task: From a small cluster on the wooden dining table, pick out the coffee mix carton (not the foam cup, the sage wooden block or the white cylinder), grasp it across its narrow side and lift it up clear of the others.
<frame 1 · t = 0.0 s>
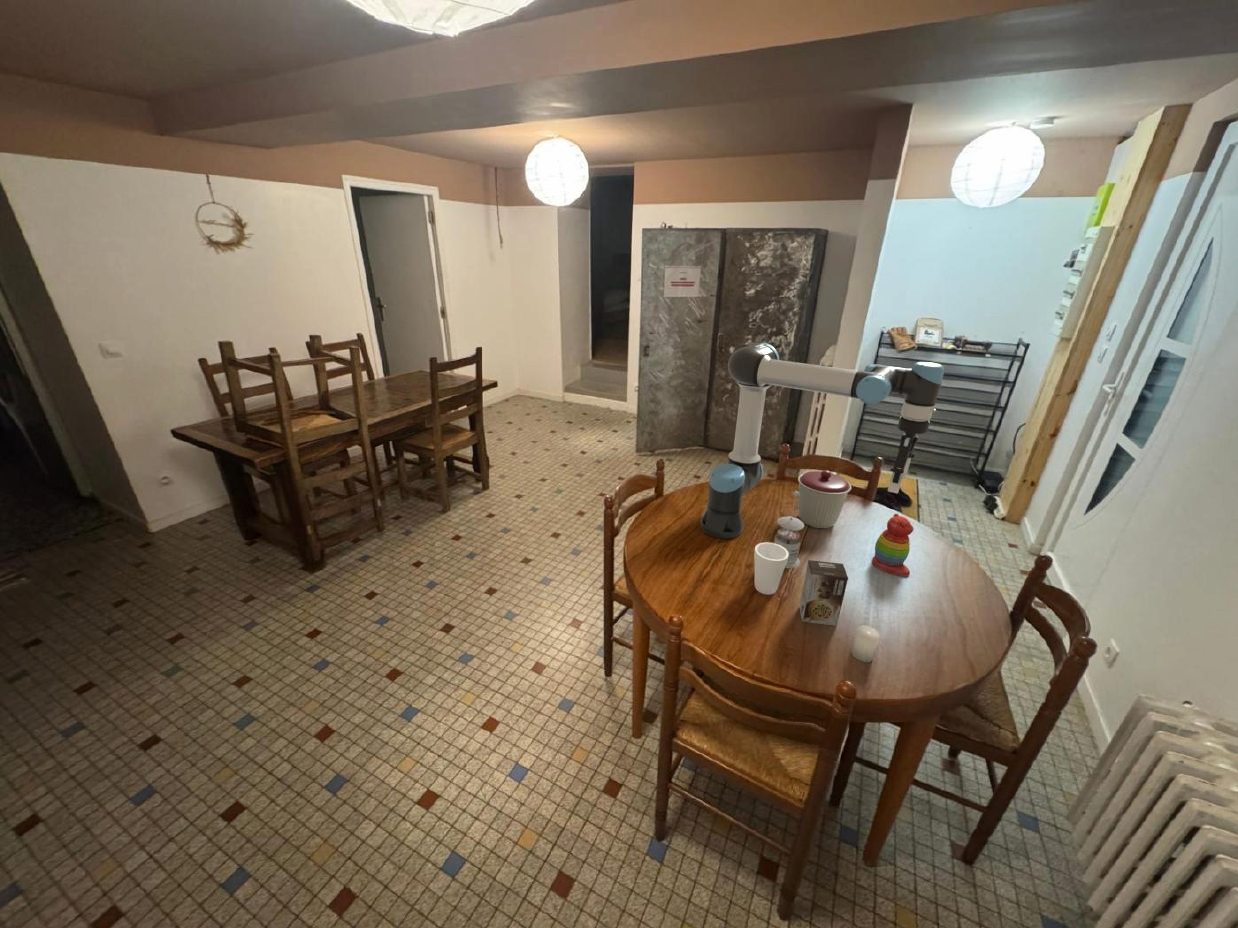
hand: (896, 484, 142), 28 cm above the table, fingers open, 13 cm apart
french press: (784, 558, 155), on the table
stacking bear: (888, 565, 151), on the table
foam cup: (765, 588, 140), on the table
coffee box: (817, 616, 129), on the table
sage block: (830, 592, 138), on the table
canister: (816, 521, 177), on the table
white cylinder: (862, 654, 117), on the table
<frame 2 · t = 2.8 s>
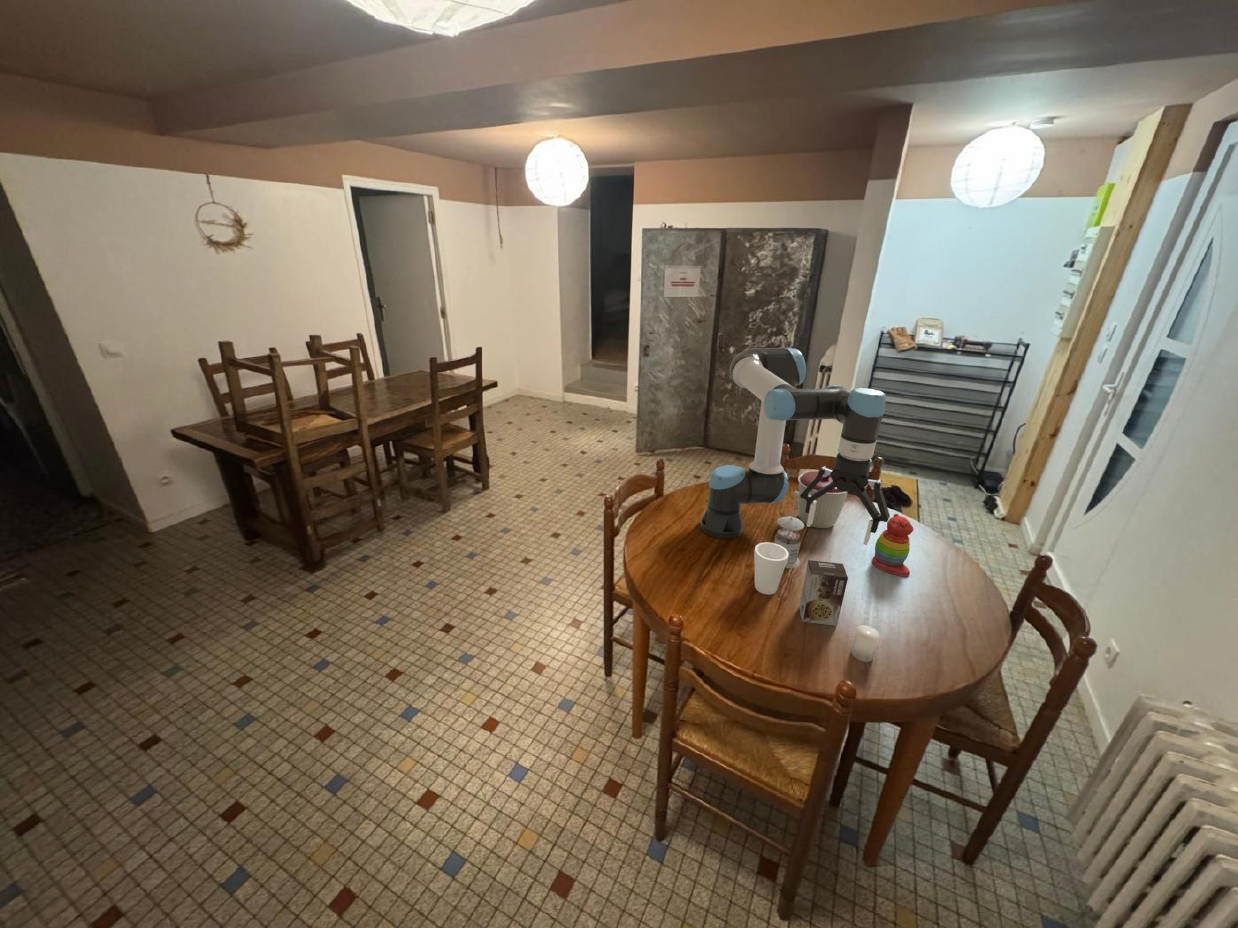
hand: (836, 533, 118), 27 cm above the table, fingers open, 13 cm apart
nothing on the table moved.
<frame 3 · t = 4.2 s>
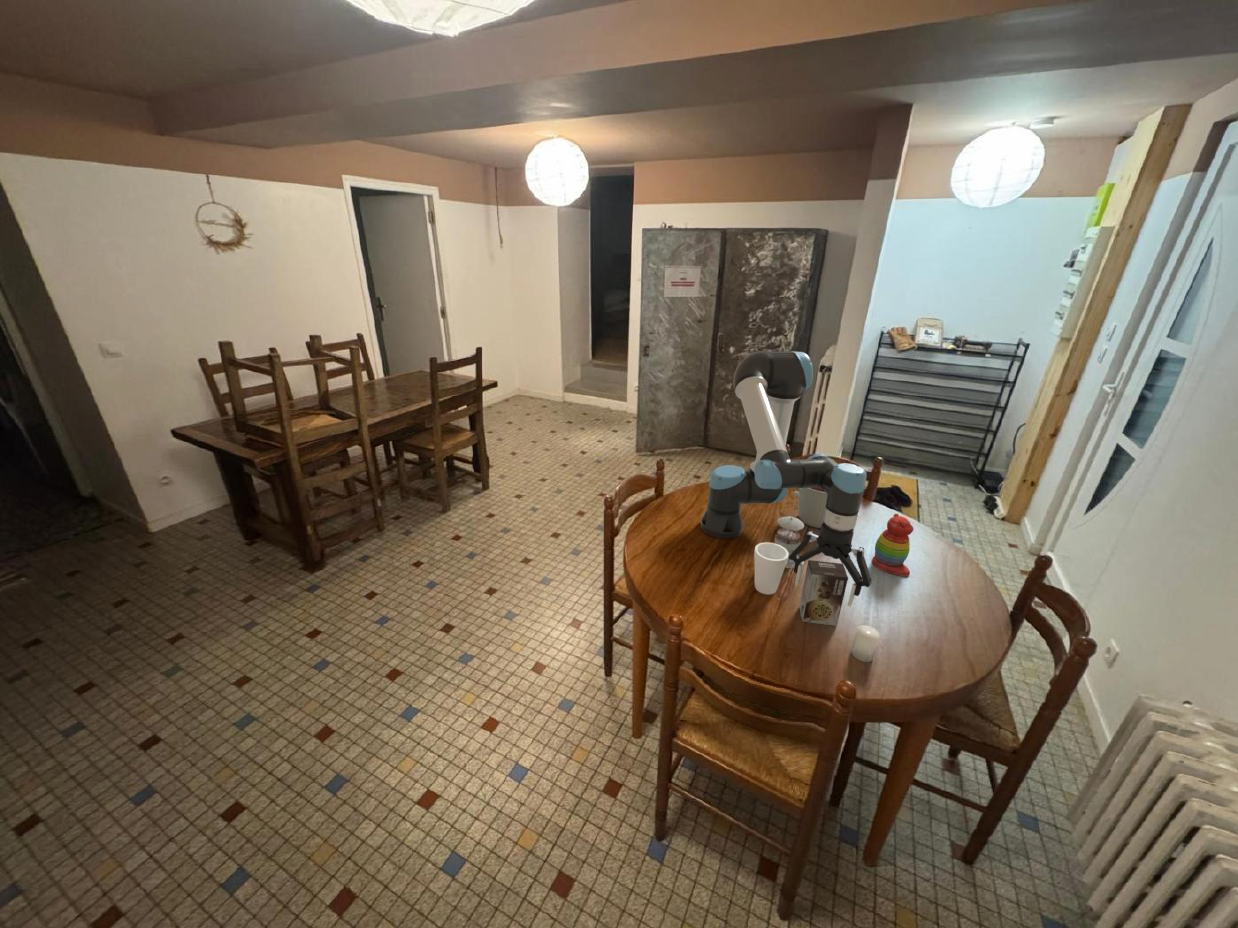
hand: (823, 593, 125), 8 cm above the table, fingers open, 13 cm apart
nothing on the table moved.
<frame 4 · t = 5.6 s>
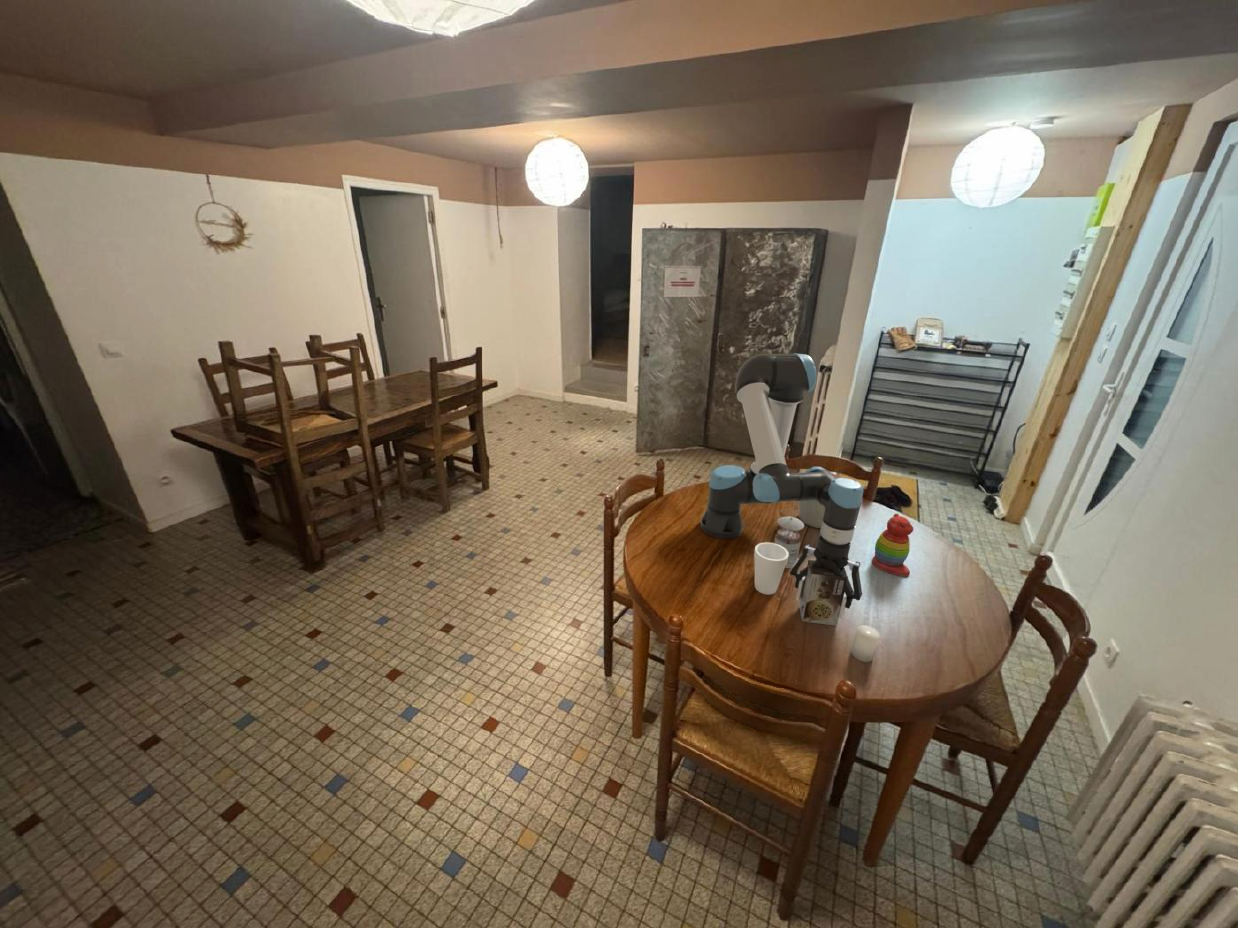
hand: (819, 606, 128), 3 cm above the table, fingers closed on coffee box, 10 cm apart
coffee box: (817, 616, 129), on the table, touching gripper
everything else where it was.
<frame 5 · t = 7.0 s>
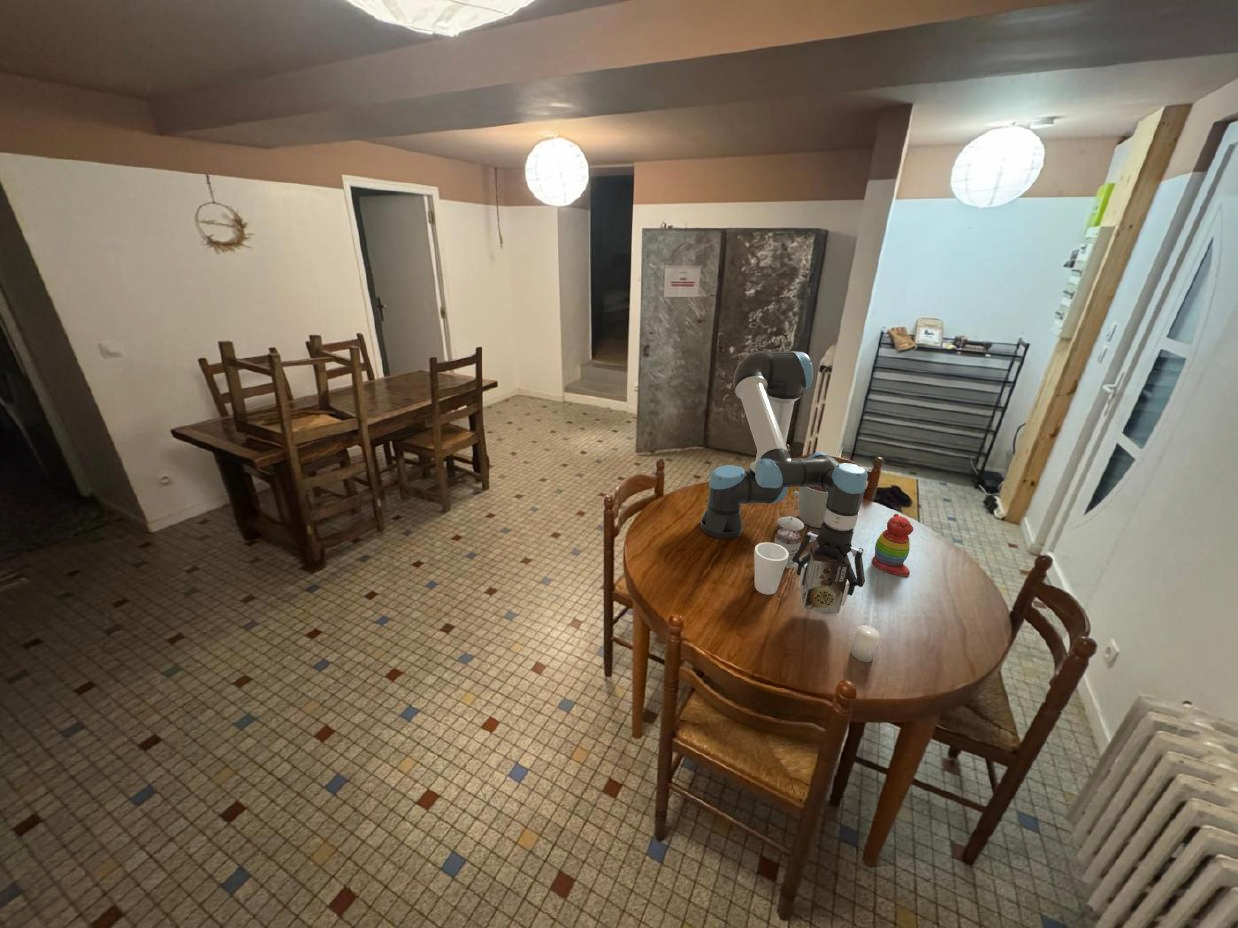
hand: (821, 593, 126), 7 cm above the table, fingers closed on coffee box, 10 cm apart
coffee box: (818, 604, 128), point 4 cm above the table, touching gripper
everything else where it was.
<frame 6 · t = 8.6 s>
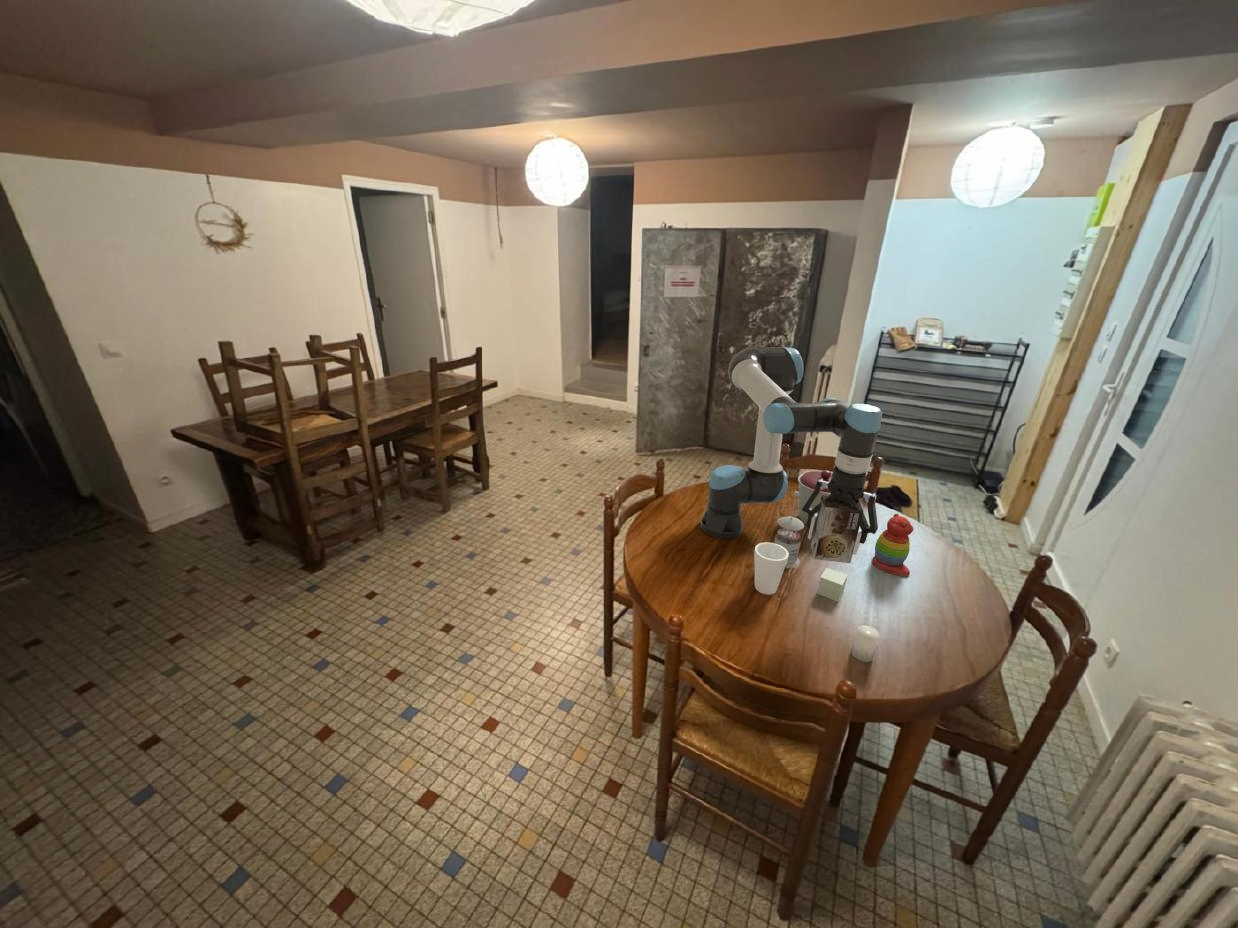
hand: (832, 544, 123), 22 cm above the table, fingers closed on coffee box, 10 cm apart
coffee box: (829, 555, 124), point 18 cm above the table, touching gripper
everything else where it was.
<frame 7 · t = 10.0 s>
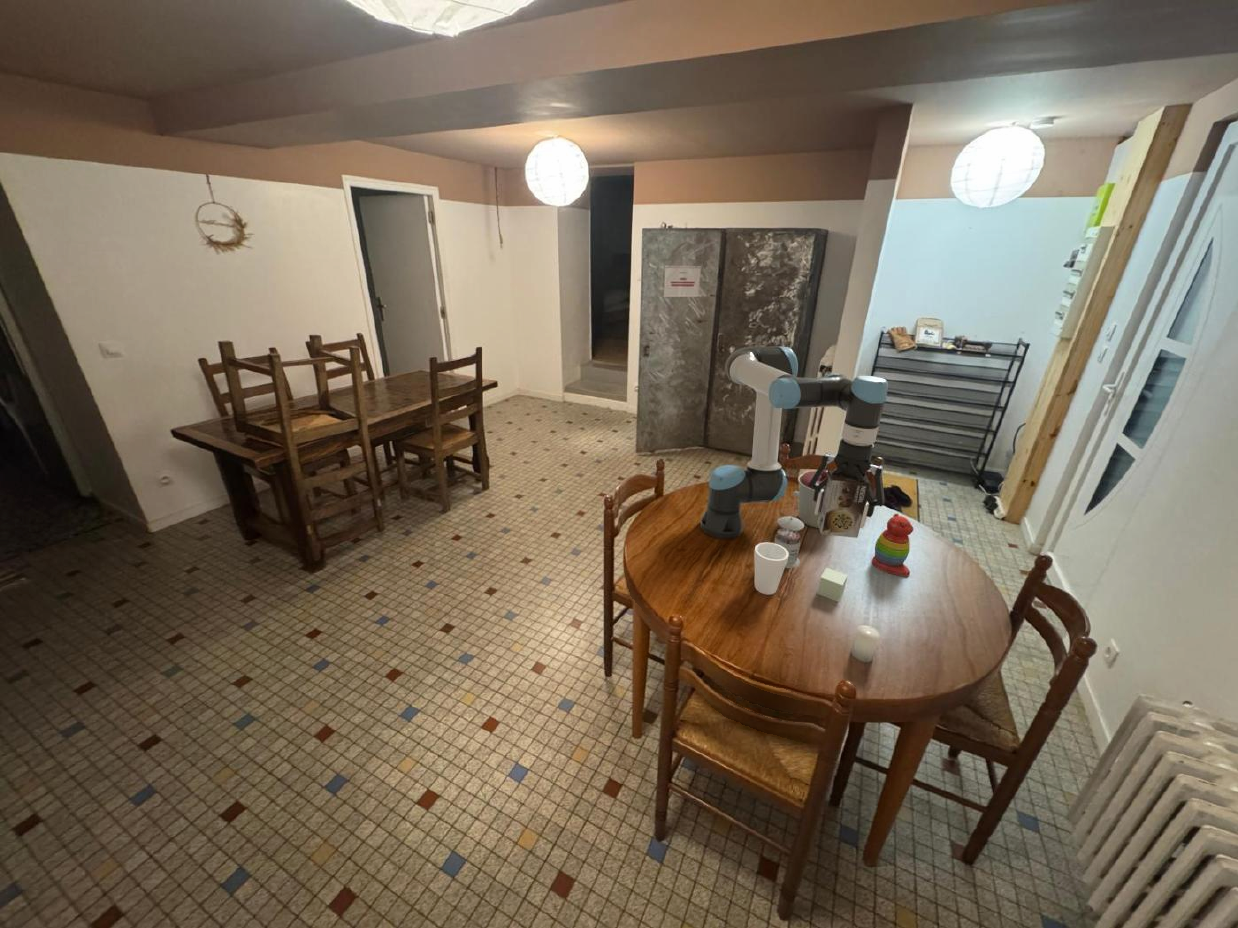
hand: (839, 519, 123), 28 cm above the table, fingers closed on coffee box, 10 cm apart
coffee box: (836, 530, 124), point 24 cm above the table, touching gripper
everything else where it was.
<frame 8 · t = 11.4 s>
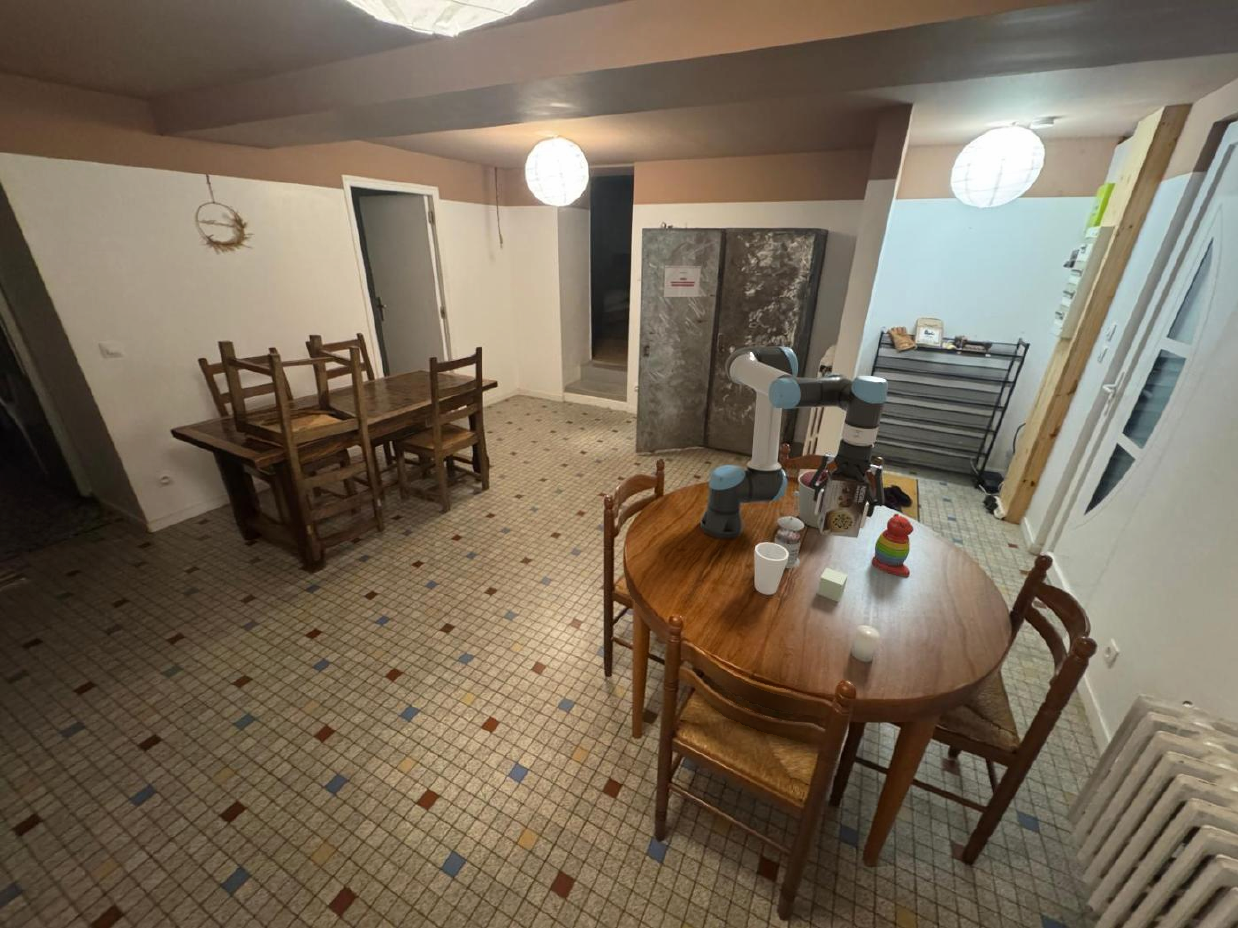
hand: (839, 519, 123), 28 cm above the table, fingers closed on coffee box, 10 cm apart
coffee box: (836, 530, 124), point 24 cm above the table, touching gripper
everything else where it was.
at the end: the gripper is holding coffee box; coffee box point 24.2 cm above the table; foam cup moved 0.2 cm from its start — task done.
